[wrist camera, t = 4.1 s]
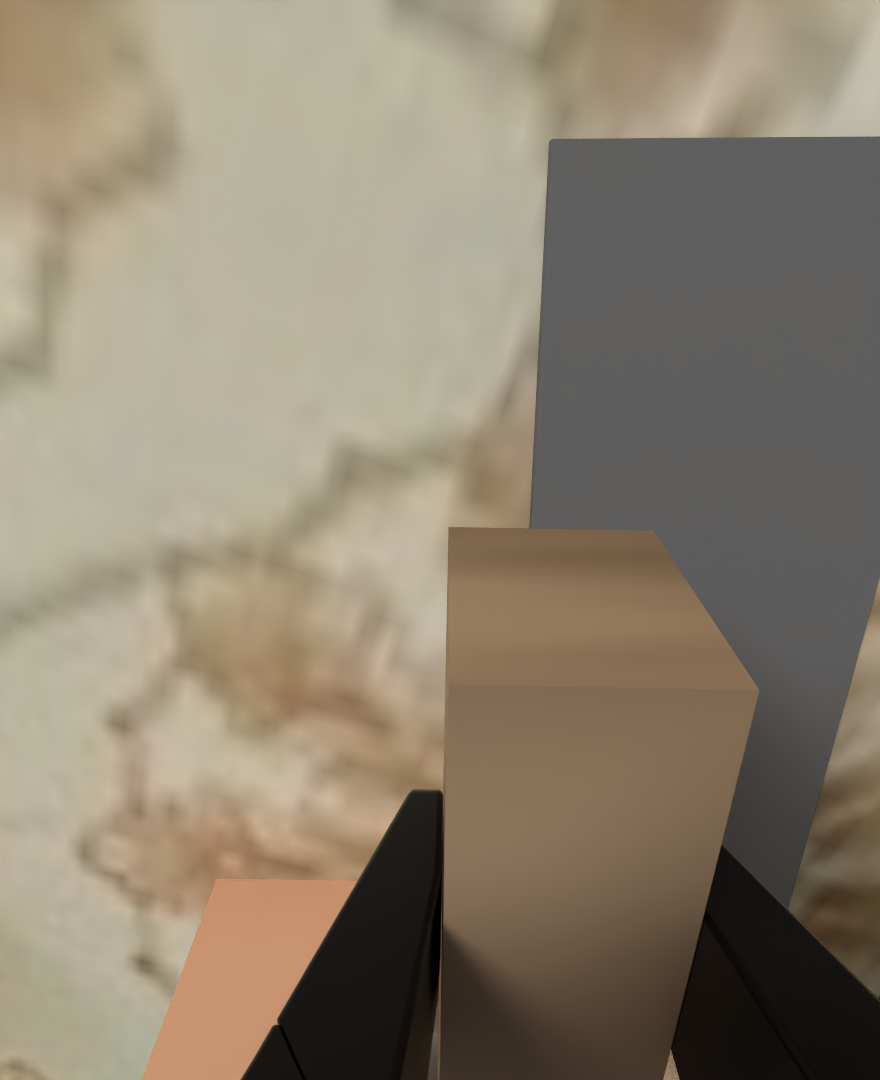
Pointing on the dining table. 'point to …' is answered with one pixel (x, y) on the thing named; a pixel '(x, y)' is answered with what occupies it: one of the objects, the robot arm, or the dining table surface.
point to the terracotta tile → (241, 973)
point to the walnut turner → (577, 801)
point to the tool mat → (727, 415)
